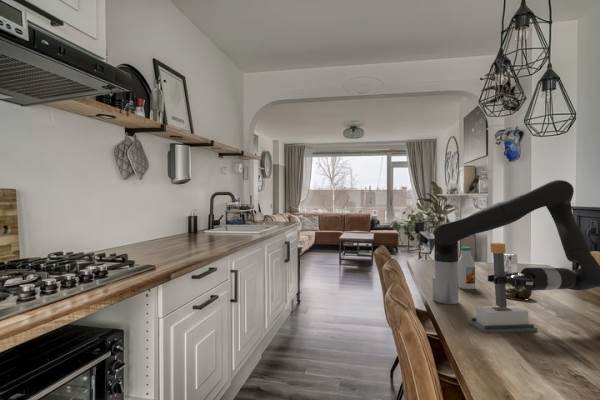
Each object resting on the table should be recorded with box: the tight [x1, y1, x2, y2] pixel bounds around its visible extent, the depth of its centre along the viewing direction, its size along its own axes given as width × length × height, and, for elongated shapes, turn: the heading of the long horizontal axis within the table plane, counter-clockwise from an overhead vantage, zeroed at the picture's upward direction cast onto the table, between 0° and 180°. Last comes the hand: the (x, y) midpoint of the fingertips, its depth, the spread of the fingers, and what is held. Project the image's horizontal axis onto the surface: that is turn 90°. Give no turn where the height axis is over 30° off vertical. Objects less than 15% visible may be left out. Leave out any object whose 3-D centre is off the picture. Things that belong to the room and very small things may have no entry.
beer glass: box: [503, 252, 518, 273], centre depth 176 cm, size 7×7×15 cm
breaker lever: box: [490, 242, 508, 307], centre depth 115 cm, size 3×3×21 cm
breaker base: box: [468, 305, 538, 334], centre depth 115 cm, size 18×9×6 cm, turn 94°
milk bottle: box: [458, 246, 476, 290], centre depth 168 cm, size 8×8×20 cm
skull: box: [506, 285, 533, 302], centre depth 151 cm, size 12×10×10 cm
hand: (491, 279), depth 115 cm, fingers closed on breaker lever, 2 cm apart
